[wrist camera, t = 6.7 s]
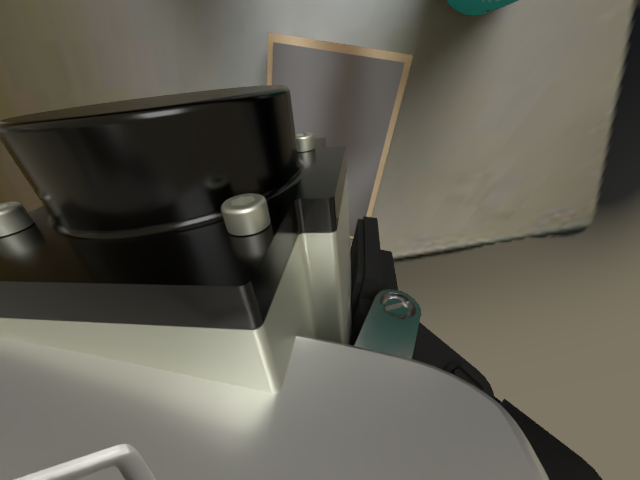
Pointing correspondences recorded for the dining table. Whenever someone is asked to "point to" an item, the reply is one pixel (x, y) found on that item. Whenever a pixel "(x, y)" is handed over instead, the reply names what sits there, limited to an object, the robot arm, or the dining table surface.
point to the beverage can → (478, 6)
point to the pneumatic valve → (178, 234)
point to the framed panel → (343, 104)
